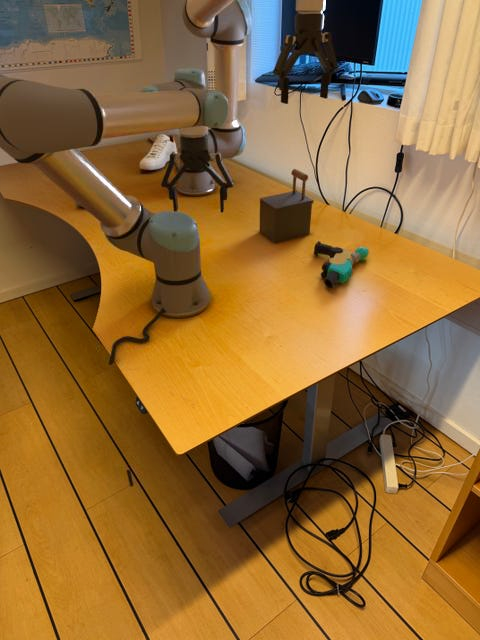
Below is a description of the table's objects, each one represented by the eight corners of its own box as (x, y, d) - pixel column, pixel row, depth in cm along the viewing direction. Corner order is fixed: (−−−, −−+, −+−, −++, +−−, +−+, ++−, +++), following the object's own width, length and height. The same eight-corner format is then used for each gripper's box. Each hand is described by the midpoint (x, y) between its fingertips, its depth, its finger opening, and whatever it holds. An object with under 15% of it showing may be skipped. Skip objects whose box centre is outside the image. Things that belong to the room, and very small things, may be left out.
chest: (293, 223, 165) (295, 193, 158) (309, 234, 158) (312, 203, 151) (259, 231, 159) (259, 201, 153) (274, 243, 152) (275, 212, 146)
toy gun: (291, 269, 129) (345, 283, 123) (323, 233, 148) (371, 243, 142) (290, 283, 132) (343, 297, 126) (322, 246, 150) (369, 256, 145)
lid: (296, 193, 158) (298, 166, 153) (313, 203, 152) (315, 174, 146) (259, 201, 153) (260, 173, 148) (275, 212, 146) (276, 183, 141)
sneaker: (133, 173, 208) (129, 144, 201) (161, 153, 230) (158, 127, 223) (155, 175, 205) (151, 146, 198) (180, 155, 227) (178, 129, 220)
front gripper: (241, 130, 128) (242, 206, 140) (150, 130, 130) (159, 204, 142) (239, 138, 122) (240, 216, 134) (144, 137, 124) (154, 214, 136)
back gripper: (339, 9, 131) (331, 93, 144) (261, 13, 122) (260, 102, 134) (356, 11, 126) (347, 97, 138) (276, 15, 117) (274, 107, 129)
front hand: (199, 210), depth 138 cm, fingers open, 13 cm apart
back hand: (304, 100), depth 136 cm, fingers open, 13 cm apart
